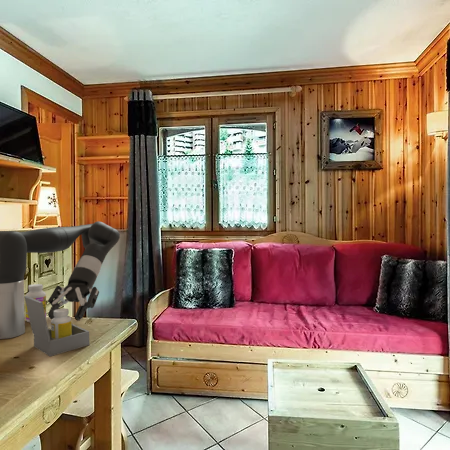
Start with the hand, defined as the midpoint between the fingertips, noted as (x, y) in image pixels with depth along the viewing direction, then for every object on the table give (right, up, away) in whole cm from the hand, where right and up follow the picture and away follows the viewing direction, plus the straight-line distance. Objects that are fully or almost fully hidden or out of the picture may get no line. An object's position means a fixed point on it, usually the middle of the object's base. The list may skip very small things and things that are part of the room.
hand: (63, 318), depth 102 cm
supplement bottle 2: (-1, -8, 0) cm, 8 cm away
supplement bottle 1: (-22, -8, +26) cm, 35 cm away
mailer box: (-1, -8, -1) cm, 8 cm away
